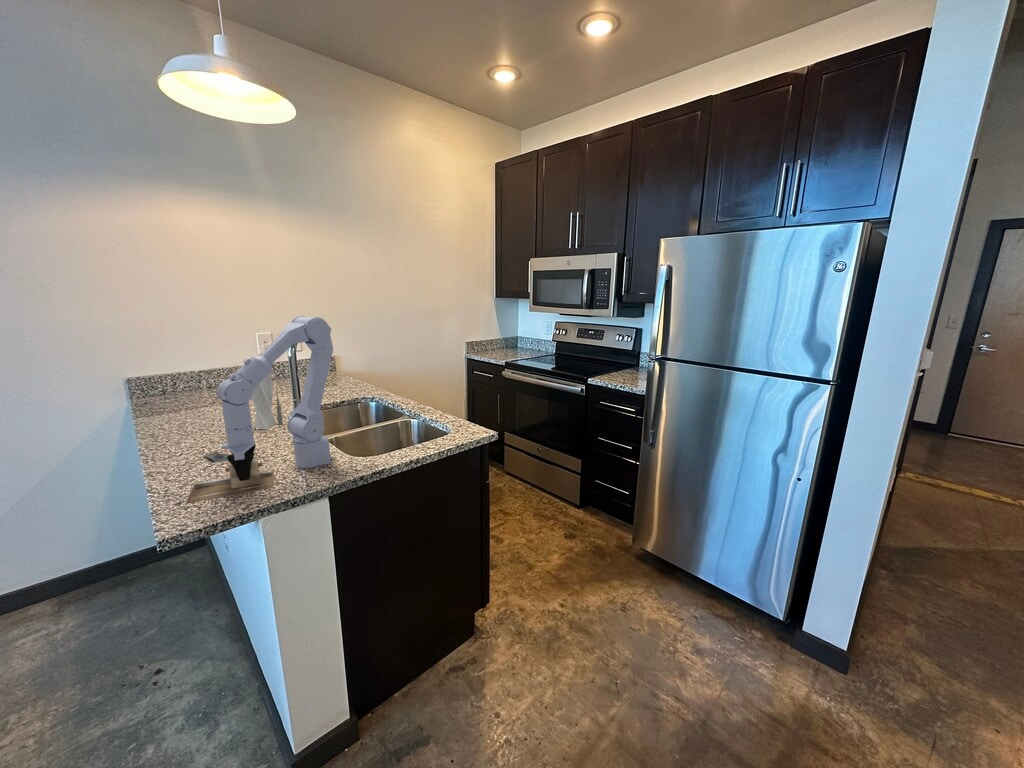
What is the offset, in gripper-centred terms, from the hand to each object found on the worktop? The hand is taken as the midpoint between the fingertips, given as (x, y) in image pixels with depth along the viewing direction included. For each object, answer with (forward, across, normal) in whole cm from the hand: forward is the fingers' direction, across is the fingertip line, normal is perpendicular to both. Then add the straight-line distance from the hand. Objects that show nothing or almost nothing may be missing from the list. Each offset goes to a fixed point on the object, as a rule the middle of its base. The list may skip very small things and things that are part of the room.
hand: (245, 476), depth 107 cm
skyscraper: (+4, -55, +3) cm, 55 cm away
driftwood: (+4, -23, -7) cm, 24 cm away
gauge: (+2, 0, 0) cm, 2 cm away
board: (+3, 0, -3) cm, 4 cm away
